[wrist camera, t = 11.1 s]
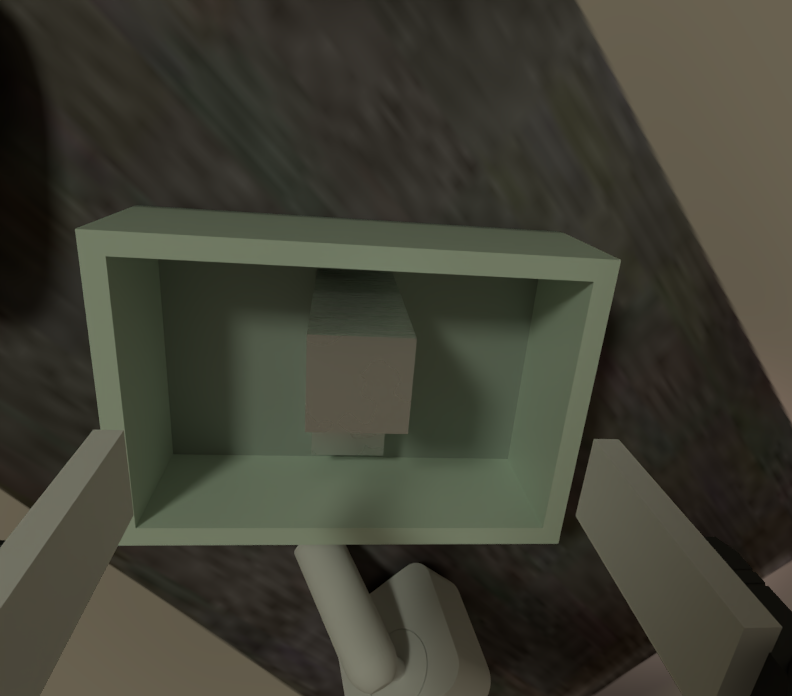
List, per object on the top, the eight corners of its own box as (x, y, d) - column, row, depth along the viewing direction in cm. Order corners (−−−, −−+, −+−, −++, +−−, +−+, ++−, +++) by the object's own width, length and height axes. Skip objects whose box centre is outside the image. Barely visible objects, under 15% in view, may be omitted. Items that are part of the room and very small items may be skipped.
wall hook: (347, 487, 34) (385, 641, 26) (443, 550, 40) (499, 694, 32) (254, 562, 36) (263, 731, 28) (359, 613, 42) (392, 765, 33)
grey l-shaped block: (316, 269, 29) (306, 334, 20) (392, 273, 30) (416, 338, 21) (312, 436, 33) (302, 556, 24) (380, 437, 33) (396, 555, 24)
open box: (136, 205, 28) (74, 228, 21) (560, 231, 30) (620, 260, 24) (159, 463, 33) (115, 545, 27) (518, 468, 36) (558, 543, 29)
